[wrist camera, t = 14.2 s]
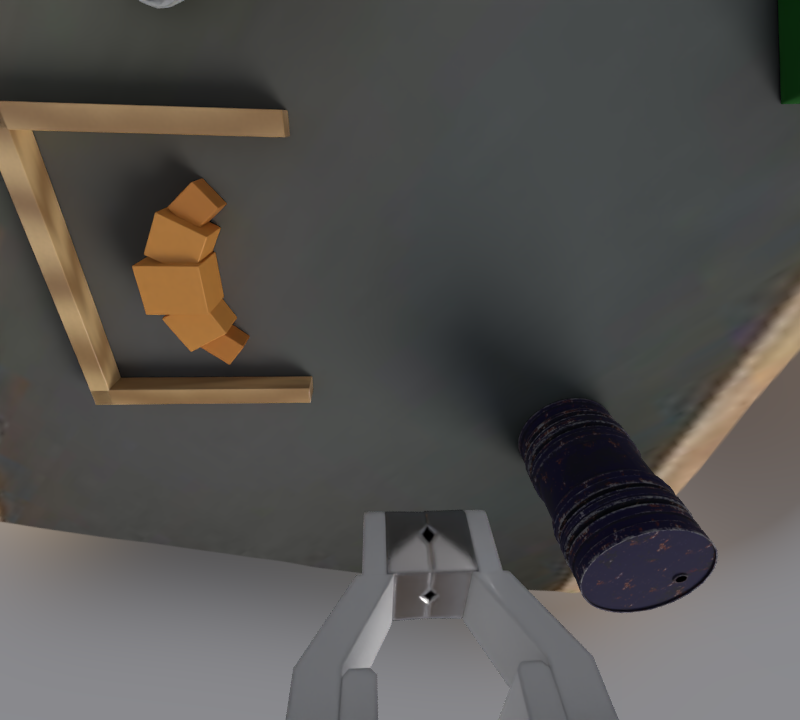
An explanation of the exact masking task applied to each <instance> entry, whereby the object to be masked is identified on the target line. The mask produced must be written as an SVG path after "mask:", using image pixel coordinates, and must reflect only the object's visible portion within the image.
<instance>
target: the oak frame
mask: <svg viewBox="0 0 800 720" xmlns="http://www.w3.org/2000/svg"><path fill="white" fill-rule="evenodd" d="M32 130H38V131H74V132H111V133H147V134H184V135H220V136H257V137H288V136H290V131H289V120H288V111H287V110H278V109H246V108H214V107H182V106H150V105H118V104H86V103H54V102H22V101H0V171H1V174H2V176H3V179H4V181H5V183H6V186H7V188H8V191H9V193H10V196H11V198H12V201H13V203H14V205H15V208H16V210H17V213H18V215H19V218H20V220H21V222H22V225H23V227H24V230H25V232H26V235H27V237H28V240H29V242H30V244H31V247H32V249H33V252H34V254H35V257H36V259H37V261H38V264H39V266H40V269H41V271H42V274H43V276H44V279H45V281H46V283H47V286H48V288H49V291H50V293H51V296H52V298H53V301H54V303H55V305H56V308H57V310H58V313H59V315H60V318H61V320H62V322H63V325H64V327H65V330H66V332H67V335H68V337H69V340H70V342H71V344H72V347H73V349H74V352H75V354H76V357H77V359H78V361H79V364H80V366H81V369H82V371H83V374H84V376H85V379H86V381H87V383H88V386H89V388H90V391H91V393H92V396H93V398H94V400H95V403H96V405H115V404H213V403H310V402H311V398H312V393H313V381H312V376H293V377H139V378H121V376H120V373H119V370H118V368H117V365H116V362H115V359H114V357H113V354H112V351H111V348H110V345H109V343H108V340H107V337H106V334H105V332H104V329H103V326H102V323H101V320H100V318H99V315H98V312H97V309H96V307H95V304H94V301H93V298H92V295H91V293H90V290H89V287H88V284H87V282H86V279H85V276H84V273H83V270H82V268H81V265H80V262H79V259H78V257H77V254H76V251H75V248H74V245H73V243H72V240H71V237H70V234H69V231H68V229H67V226H66V223H65V220H64V218H63V215H62V212H61V209H60V206H59V204H58V201H57V198H56V195H55V193H54V190H53V187H52V184H51V181H50V179H49V176H48V173H47V170H46V168H45V165H44V162H43V159H42V156H41V154H40V151H39V148H38V145H37V143H36V140H35V137H34V134H33V131H32Z"/></svg>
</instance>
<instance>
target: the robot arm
mask: <svg viewBox="0 0 800 720" xmlns="http://www.w3.org/2000/svg"><path fill="white" fill-rule="evenodd" d="M432 618H433V619H437V618H440V619H445V618H463V621H464V623H465V624H466V626H467V627H468V629H469V630H470V632H471V633H472V634H473V636H474V637H475V639H476V640H477V642H478V643H479V644H480V646H481V647H482V649H483V650H484V652H485V653H486V654H487V656H488V658H489V659H490V660H491V662H492V663H493V665H494V666H495V668H496V669H497V670H498V672H499V673H500V675H501V676H502V678H503V679H504V681H505V682H506V683H507V685H508V686H509V688H510V690H509V692H508V695H507V697H506V700H505V703H504V705H503V708H502V711H501V713H500V716H499V719H498V720H618V717H617V714H616V712H615V709H614V707H613V705H612V702H611V700H610V697H609V695H608V692H607V690H606V687H605V685H604V682H603V680H602V677H601V675H600V672H599V670H598V668H597V665H596V662H595V660H594V658H593V656H592V655H591V654H590V653H589V652H588V651H587V650H586V649H585V648H584V647H583V646H582V645H581V644H580V643H579V642H578V641H577V640H576V639H575V638H574V637H573V636H572V635H571V633H570V632H569V631H567V630H566V629H565V627H564V626H563V625H562V624H561V623H560V622H559V621H558V620H557V619H556V618H554V616H553V615H552V614H551V613H550V612H548V610H547V609H546V608H545V607H544V606H543V605H542V604H541V603H540V602H539V601H538V600H537V599H536V598H535V597H534V596H533V595H532V594H531V593H530V592H529V591H528V590H527V589H526V588H525V587H524V586H523V585H522V584H521V583H520V582H519V581H518V580H517V578H516V577H515V576H514V575H513V574H512V573H511V572H510V571H503V570H502V566H501V563H500V559H499V556H498V552H497V549H496V545H495V542H494V538H493V535H492V531H491V528H490V524H489V521H488V517H487V514H486V512H485V511H484V510H439V511H424V512H365V513H364V525H363V566H362V575H356V576H355V578H354V579H353V581H352V582H351V584H350V585H349V587H348V588H347V590H346V591H345V593H344V594H343V595H342V597H341V598H340V600H339V601H338V603H337V605H336V606H335V608H334V609H333V610H332V612H331V613H330V615H329V616H328V618H327V619H326V621H325V622H324V624H323V625H322V627H321V628H320V630H319V631H318V633H317V634H316V636H315V637H314V639H313V640H312V642H311V643H310V645H309V646H308V648H307V649H306V651H305V652H304V653H303V655H302V656H301V658H300V659H299V661H298V662H297V664H296V665H295V667H294V669H293V674H292V681H291V688H290V694H289V701H288V708H287V714H286V720H378V702H377V700H378V696H377V674H376V673H375V672H374V671H373V670H372V669H371V668H370V667H371V665H372V663H373V661H374V659H375V657H376V655H377V653H378V651H379V649H380V647H381V644H382V643H383V640H384V638H385V636H386V634H387V632H388V630H389V628H390V626H391V624H392V621H398V620H414V619H432Z"/></svg>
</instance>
